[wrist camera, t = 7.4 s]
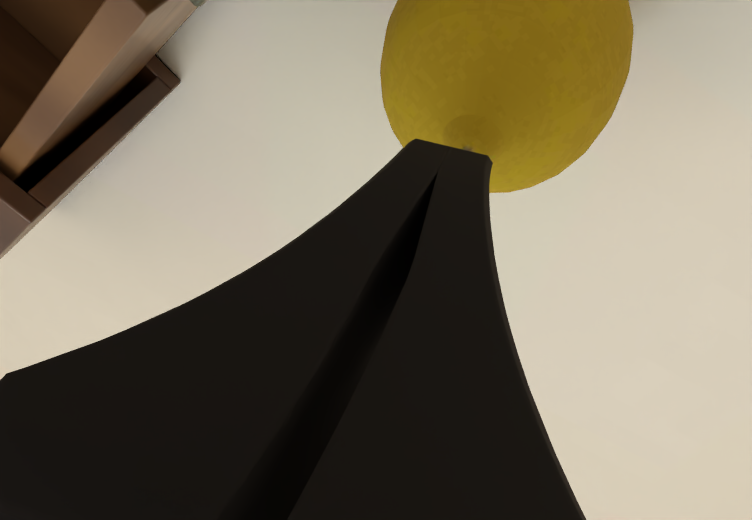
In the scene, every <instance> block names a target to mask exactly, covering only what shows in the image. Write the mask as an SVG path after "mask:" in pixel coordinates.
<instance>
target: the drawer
mask: <svg viewBox="0 0 752 520" xmlns="http://www.w3.org/2000/svg"><path fill="white" fill-rule="evenodd" d="M206 1H207V0H0V172H1V173H2V174H4V175H5V176H6V177H7V178H9V179H10V180H11V181H12V182H14V183H15V184H16V185H18V184H19V183H20V182H21V181H22V180H23V179H25V178H26V177H27V176H28V175H29V174H30V173H31V172H33V171H34V170H35V169H36V168H37V167H38V166H40V165H41V164H42V163H43V162H44V161H45V160H46V159H48V158H49V157H50V156H51V155H52V154H53V153H55V152H56V151H57V150H58V149H59V148H60V147H62V146H63V145H64V144H65V143H66V142H67V141H68V140H70V139H71V138H72V137H73V136H74V135H75V134H77V133H78V132H79V131H80V130H81V129H82V128H83V127H85V126H86V125H87V124H88V123H89V122H90V121H92V120H93V119H94V118H95V117H96V116H97V115H99V113H100V112H102V111H103V110H104V109H105V108H107V107H108V106H109V105H110V104H111V103H112V102H113V101H114V100H115V99H116V98H117V96H118V95H119V94H120V93H121V92H122V91H123V90H124V89H125V87H126V86H127V85H128V84H129V83H130V82H131V81H132V80H133V79H134V77H135V76H136V75H137V74H138V73H139V72H140V71H141V70H142V68H143V67H144V66H145V65H146V64H147V63H148V62H149V61H150V60H151V58H152V57H153V56H154V55H155V54H156V53H157V52H158V51H159V49H160V48H161V47H162V46H163V45H164V44H165V43H166V42H167V41H168V39H169V38H170V37H171V36H172V35H173V34H174V33H175V32H176V30H177V29H178V28H179V27H180V26H181V25H182V24H183V23H184V22H185V20H186V19H187V18H188V17H189V16H190V15H191V14H192V13H193V11H194V10H195V9H196V8H197V7H199V6H201V5H203V4H204V3H205V2H206Z"/></svg>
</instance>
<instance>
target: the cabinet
mask: <svg viewBox="0 0 752 520" xmlns="http://www.w3.org/2000/svg"><path fill="white" fill-rule="evenodd" d="M179 84H180V80H179V79H178V78H177V77H176V76H175V75H174V74H173V73H172V72H171V71H170V70H169V69H168V68H167V67H166V66H165V65H164V64H163V63H162V62H161V61H160V60H159V59H158V58H157V57H156V56H155V55H154V56H153V57H152V58H151V60H150V61H149V62H148V63H147V64H146V65H145V66H144V67H143V68H142V70H141V71H140V72H139V73H138V74H137V75H136V76H135V77H134V79H133V80H132V81H131V82H130V83H129V84H128V85H127V86H126V87H125V89H124V90H123V91H122V92H121V93H120V94H119V95H118V96H117V98H116V99H115V100H114V101H113V102H112V103H111V104H110V105H109V106H108V107H107V108H105V109H104V110H103V111H102V112H100V113H99V115H97V116H96V117H95V118H94V119H93V120H92V121H90V122H89V123H88V124H87V125H86V126H85V127H83V128H82V129H81V130H80V131H79V132H78V133H77V134H75V135H74V136H73V137H72V138H71V139H70V140H68V141H67V142H66V143H65V144H64V145H63V146H62V147H60V148H59V149H58V150H57V151H56V152H55V153H53V154H52V155H51V156H50V157H49V158H48V159H46V160H45V161H44V162H43V163H42V164H41V165H40V166H38V167H37V168H36V169H35V170H34V171H33V172H31V173H30V174H29V175H28V176H27V177H26V178H25V179H23V180H22V181H21V182H20V183H19V184H18V185H16V184H15V183H14V182H12V181H11V180H10V179H9V178H7V177H6V176H5V175H4V174H2V173H1V172H0V259H1V258H2V257H3V256H4V255H5V254H6V253H7V252H8V251H9V250H10V249H11V248H12V247H13V246H15V245H16V244H17V243H18V242H19V241H20V240H21V239H22V238H23V237H24V236H25V235H26V234H27V233H28V232H29V231H30V230H31V229H32V228H33V227H34V226H35V225H36V224H38V223H39V222H40V221H41V220H42V219H43V218H44V217H45V216H46V215H47V214H48V213H49V212H50V211H51V210H52V209H53V208H54V207H55V206H56V205H57V204H58V203H59V202H60V201H61V200H62V199H63V198H64V197H65V196H66V195H67V194H68V193H69V192H70V191H71V190H72V189H73V188H74V187H75V186H76V185H77V184H78V183H79V182H80V181H81V180H82V179H83V178H85V177H86V176H87V175H88V174H89V173H90V172H91V171H92V170H93V169H94V168H95V167H96V166H97V165H98V164H99V163H100V162H101V161H102V160H103V159H104V158H105V157H106V156H107V155H108V154H109V153H110V152H111V151H112V150H113V149H114V148H115V147H116V146H117V145H118V144H119V143H120V142H121V141H122V140H123V139H124V138H125V137H126V136H127V135H128V134H129V133H130V132H131V131H132V130H133V129H134V128H135V127H136V126H137V125H138V124H139V123H140V122H141V121H142V120H143V119H144V118H145V117H146V116H147V115H148V114H149V113H150V112H151V111H152V110H153V109H154V108H155V107H156V106H157V105H158V104H159V103H160V102H161V101H162V100H163V99H164V98H165V97H166V96H167V95H168V94H169V93H170V92H171V91H172V90H173V89H174V88H175V87H177V86H178V85H179Z"/></svg>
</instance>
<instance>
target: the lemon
mask: <svg viewBox="0 0 752 520" xmlns="http://www.w3.org/2000/svg"><path fill="white" fill-rule="evenodd" d="M632 41H633V22H632V17H631V11H630V6H629V1H628V0H398V1H397V3H396V5H395V8H394V10H393V12H392V14H391V17H390V19H389V22H388V26H387V30H386V36H385V41H384V47H383V53H382V59H381V72H380V74H381V86H382V98H383V104H384V108H385V111H386V114H387V116H388V119H389V122H390V125H391V128H392V130H393V132H394V134H395V135H396V137H397V138H398V140H399V141H400V143H401V144H402V146H403V148H404V147H405V146H406V145H407V143H408V142H410V141H412V140H414V139H415V138H416V139H421V140H425V141H429V142H433V143H438V144H442V145H446V146H450V147H454V148H459V149H463V150H467V151H471V152H476V153H480V154H484V155H488V156H489V158H490V159H491V161H492V162H493V165H492V169H491V174H490V184H489V193H497V192H512V191H516V190H520V189H525V188H529V187H532V186H534V185H537V184H539V183H541V182H543V181H545V180H547V179H549V178H552V177H554V176H556V175H558V174H559V173H561V172H562V171H563V170H564V169H566V168H567V167H568V166H569V165H571V164H572V163H573V162H574V161H576V160H577V159H578V158H579V157H581V156H582V155H583V154H584V153H585V152H586V151H587V149H588V148H589V147H590V146H591V144H592V143H593V142H594V140H595V139H596V138H597V136H598V135H599V134H600V132H601V131H602V130H603V128H604V127H605V125H606V124H607V123H608V121H609V119H610V118H611V116H612V114H613V112H614V110H615V108H616V105H617V102H618V100H619V97H620V95H621V92H622V90H623V87H624V84H625V82H626V79H627V76H628V73H629V68H630V61H631V51H632Z"/></svg>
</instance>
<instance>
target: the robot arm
mask: <svg viewBox="0 0 752 520" xmlns="http://www.w3.org/2000/svg"><path fill="white" fill-rule="evenodd" d="M492 165H493V162H492V161H491V159H490V158H489V156H488V155H484V154H480V153H476V152H471V151H467V150H463V149H459V148H454V147H450V146H446V145H442V144H438V143H433V142H429V141H425V140H421V139H416V138H415V139H414V140H412V141H410V142H408V143H407V145H406V146H405V147H404V148H403V149H402V150H401V151H400V152H399V153H398V154H397V155H396V156H395V157H394V158H393V159H392V160H391V161H390V162H389V163H387V164H386V165H385V166H384V167H383V168H382V169H381V170H380V171H379V172H378V173H377V174H376V175H375V176H373V177H372V178H371V179H370V180H369V181H368V182H367V183H366V184H364V185H363V186H362V187H361V188H360V189H359V190H357V191H356V192H355V193H354V194H353V195H351V196H350V197H349V198H348V199H347V200H346V201H344V202H343V203H342V204H341V205H340V206H338V207H337V208H336V209H335V210H333V211H332V212H331V213H329V214H328V215H327V216H325V217H324V218H323V219H321V220H320V221H319V222H317V223H316V224H315V225H313V226H312V227H311V228H309V229H308V230H307V231H305V232H304V233H303V234H301V235H300V236H299V237H297V238H296V239H294V240H293V241H291V242H290V243H288V244H287V245H286V246H284V247H283V248H281V249H280V250H278V251H276V252H275V253H273V254H272V255H270V256H269V257H267V258H265V259H264V260H262V261H261V262H259V263H257V264H256V265H254V266H253V267H251V268H249V269H248V270H246V271H244V272H242V273H241V274H239V275H237V276H235V277H233V278H232V279H230V280H228V281H226V282H224V283H222V284H221V285H219V286H217V287H215V288H213V289H212V290H210V291H208V292H206V293H204V294H202V295H200V296H198V297H196V298H194V299H192V300H190V301H188V302H186V303H184V304H182V305H180V306H178V307H176V308H174V309H171V310H169V311H167V312H165V313H162V314H160V315H158V316H156V317H154V318H151V319H149V320H147V321H145V322H142V323H140V324H138V325H136V326H133V327H131V328H129V329H127V330H125V331H122V332H120V333H117V334H115V335H113V336H110V337H108V338H105V339H103V340H100V341H98V342H95V343H92V344H90V345H87V346H84V347H81V348H78V349H76V350H73V351H70V352H67V353H64V354H62V355H59V356H56V357H53V358H51V359H48V360H45V361H42V362H39V363H37V364H34V365H31V366H28V367H25V368H22V369H19V370H16V371H13V372H10V373H7V374H6V375H5V376H4V377H3V378H2V379H1V380H0V520H586V518H585V516H584V514H583V512H582V510H581V508H580V506H579V504H578V502H577V500H576V498H575V496H574V493H573V491H572V489H571V487H570V485H569V482H568V480H567V478H566V476H565V474H564V471H563V469H562V467H561V465H560V463H559V461H558V458H557V456H556V454H555V452H554V449H553V447H552V444H551V442H550V439H549V436H548V434H547V431H546V429H545V426H544V424H543V421H542V419H541V416H540V414H539V411H538V409H537V406H536V404H535V401H534V399H533V396H532V394H531V391H530V389H529V386H528V383H527V380H526V377H525V374H524V371H523V368H522V365H521V362H520V359H519V356H518V353H517V350H516V346H515V343H514V339H513V336H512V333H511V329H510V326H509V322H508V318H507V314H506V310H505V306H504V302H503V297H502V293H501V288H500V283H499V278H498V273H497V267H496V262H495V256H494V248H493V240H492V232H491V223H490V207H489V184H490V174H491V169H492Z"/></svg>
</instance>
